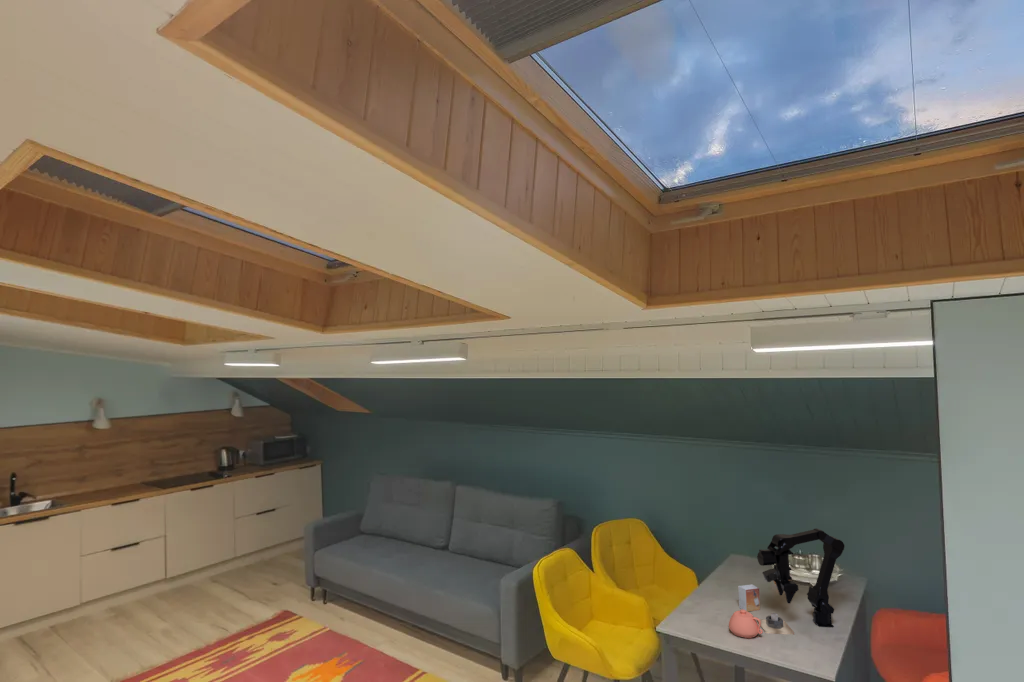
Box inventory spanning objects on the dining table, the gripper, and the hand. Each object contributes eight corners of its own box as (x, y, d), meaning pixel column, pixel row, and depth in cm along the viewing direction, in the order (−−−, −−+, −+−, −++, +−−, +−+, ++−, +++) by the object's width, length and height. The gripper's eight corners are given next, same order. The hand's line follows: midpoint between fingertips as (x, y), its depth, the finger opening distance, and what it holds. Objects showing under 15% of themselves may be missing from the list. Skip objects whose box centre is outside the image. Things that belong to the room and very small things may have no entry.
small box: (746, 612, 264) (745, 589, 265) (738, 607, 270) (737, 585, 271) (760, 610, 267) (759, 587, 267) (752, 605, 272) (751, 583, 273)
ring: (779, 622, 251) (779, 615, 251) (784, 629, 244) (784, 622, 245) (764, 622, 251) (764, 615, 252) (769, 628, 245) (769, 621, 245)
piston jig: (783, 622, 253) (783, 608, 254) (794, 634, 241) (793, 620, 242) (756, 621, 254) (756, 608, 255) (765, 633, 243) (764, 619, 243)
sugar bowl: (734, 625, 251) (733, 602, 252) (766, 634, 242) (765, 610, 243) (725, 635, 242) (724, 611, 242) (758, 644, 233) (757, 619, 233)
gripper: (757, 557, 262) (759, 591, 261) (771, 571, 243) (773, 607, 242) (781, 557, 261) (783, 591, 260) (797, 571, 242) (800, 607, 241)
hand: (784, 599), depth 251 cm, fingers open, 9 cm apart
